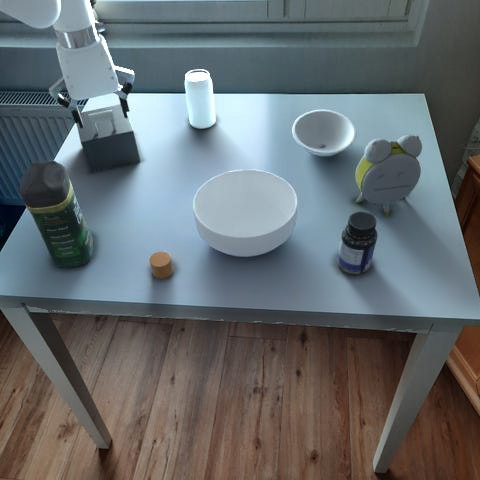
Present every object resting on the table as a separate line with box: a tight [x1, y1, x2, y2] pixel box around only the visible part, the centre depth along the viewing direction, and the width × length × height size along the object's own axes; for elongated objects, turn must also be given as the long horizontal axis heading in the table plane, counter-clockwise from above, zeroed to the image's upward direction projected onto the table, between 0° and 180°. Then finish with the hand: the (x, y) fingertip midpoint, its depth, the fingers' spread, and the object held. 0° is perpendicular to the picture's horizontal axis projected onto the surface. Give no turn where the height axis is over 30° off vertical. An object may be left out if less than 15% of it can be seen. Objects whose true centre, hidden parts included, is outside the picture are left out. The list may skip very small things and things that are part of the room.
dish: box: [291, 109, 357, 157], centre depth 108 cm, size 18×14×5 cm
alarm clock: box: [354, 134, 423, 216], centre depth 92 cm, size 12×7×15 cm, turn 99°
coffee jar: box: [19, 160, 94, 269], centre depth 86 cm, size 10×8×19 cm
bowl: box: [192, 168, 299, 258], centre depth 91 cm, size 20×20×8 cm
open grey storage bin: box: [81, 133, 141, 173], centre depth 110 cm, size 12×12×8 cm
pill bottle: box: [336, 210, 379, 276], centre depth 84 cm, size 6×6×11 cm
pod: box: [148, 250, 175, 279], centre depth 88 cm, size 4×4×4 cm
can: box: [184, 69, 216, 129], centre depth 115 cm, size 6×6×12 cm
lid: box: [75, 103, 135, 146], centre depth 104 cm, size 12×12×5 cm
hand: (103, 120), depth 101 cm, fingers open, 9 cm apart
